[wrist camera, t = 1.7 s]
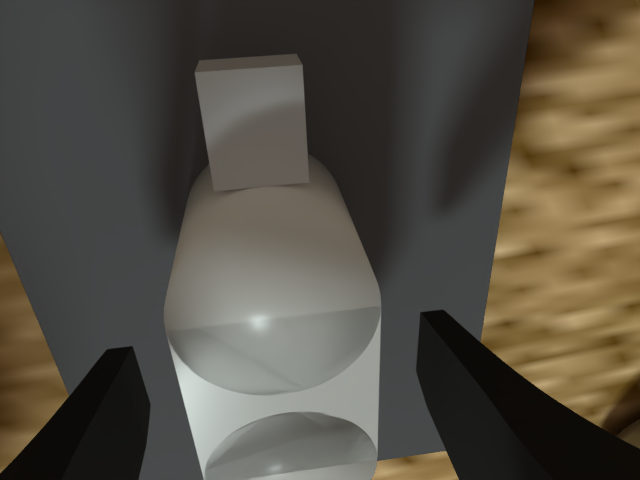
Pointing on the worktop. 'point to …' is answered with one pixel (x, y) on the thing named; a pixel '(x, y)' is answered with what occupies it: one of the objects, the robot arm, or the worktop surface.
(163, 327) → the rubber mat
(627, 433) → the plastic bottle
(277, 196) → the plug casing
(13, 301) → the worktop surface
